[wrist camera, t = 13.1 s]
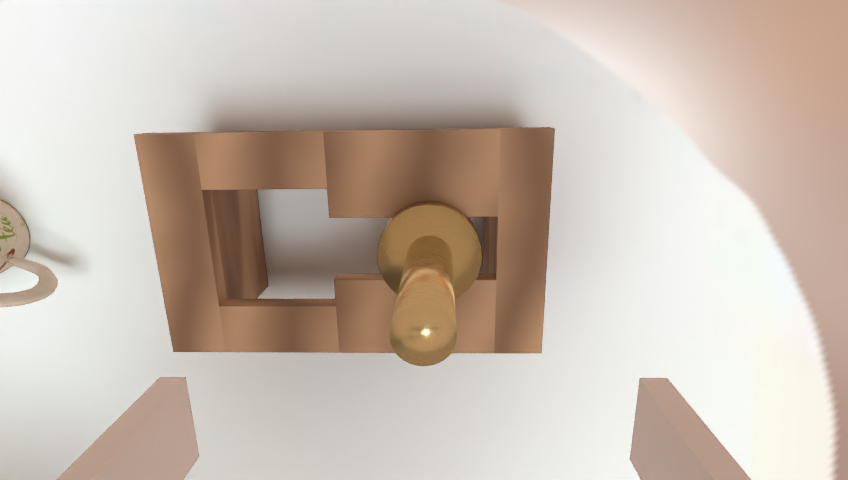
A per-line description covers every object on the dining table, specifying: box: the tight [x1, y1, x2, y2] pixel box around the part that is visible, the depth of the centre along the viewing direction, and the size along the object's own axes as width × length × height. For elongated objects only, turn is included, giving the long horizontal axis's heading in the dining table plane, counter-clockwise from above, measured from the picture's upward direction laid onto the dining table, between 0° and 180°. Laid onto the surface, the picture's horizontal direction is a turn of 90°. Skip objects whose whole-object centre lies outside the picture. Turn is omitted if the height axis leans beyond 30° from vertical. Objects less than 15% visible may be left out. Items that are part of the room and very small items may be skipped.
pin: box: [377, 201, 482, 366], centre depth 26 cm, size 6×6×16 cm
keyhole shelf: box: [134, 127, 555, 353], centre depth 34 cm, size 24×14×9 cm, turn 91°
